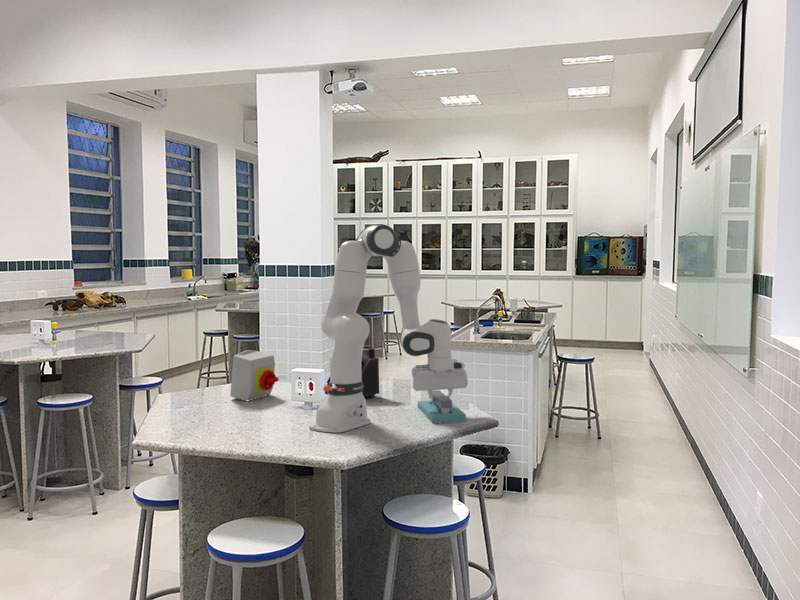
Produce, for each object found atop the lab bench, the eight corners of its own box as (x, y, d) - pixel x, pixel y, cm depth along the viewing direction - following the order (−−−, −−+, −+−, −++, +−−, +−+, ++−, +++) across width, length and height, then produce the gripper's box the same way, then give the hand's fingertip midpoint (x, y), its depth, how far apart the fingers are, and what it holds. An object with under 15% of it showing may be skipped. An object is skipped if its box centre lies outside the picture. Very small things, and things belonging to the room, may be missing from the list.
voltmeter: (324, 397, 265) (323, 349, 264) (355, 391, 276) (354, 345, 275) (348, 403, 253) (346, 353, 252) (379, 396, 264) (378, 349, 263)
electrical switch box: (256, 408, 256) (260, 360, 254) (229, 399, 264) (233, 352, 261) (280, 401, 269) (284, 355, 266) (254, 392, 276) (258, 347, 274)
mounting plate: (465, 421, 222) (465, 414, 222) (432, 423, 220) (432, 416, 220) (447, 405, 246) (447, 399, 246) (417, 407, 244) (417, 401, 243)
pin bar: (452, 416, 224) (451, 400, 224) (441, 416, 224) (440, 401, 223) (439, 404, 242) (439, 390, 242) (429, 405, 241) (429, 390, 241)
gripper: (413, 366, 227) (414, 405, 228) (468, 363, 230) (469, 401, 231) (410, 363, 233) (410, 401, 234) (463, 361, 237) (464, 397, 238)
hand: (440, 401), depth 233 cm, fingers closed on pin bar, 4 cm apart
